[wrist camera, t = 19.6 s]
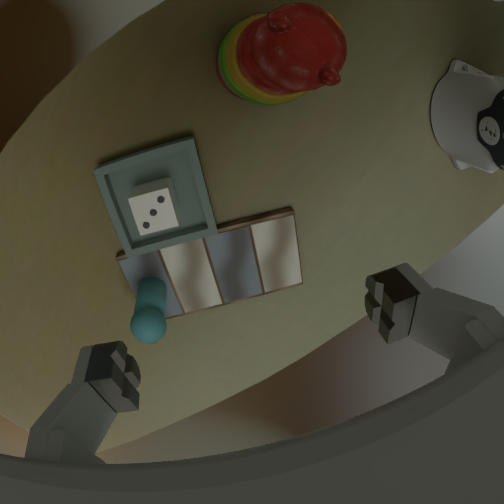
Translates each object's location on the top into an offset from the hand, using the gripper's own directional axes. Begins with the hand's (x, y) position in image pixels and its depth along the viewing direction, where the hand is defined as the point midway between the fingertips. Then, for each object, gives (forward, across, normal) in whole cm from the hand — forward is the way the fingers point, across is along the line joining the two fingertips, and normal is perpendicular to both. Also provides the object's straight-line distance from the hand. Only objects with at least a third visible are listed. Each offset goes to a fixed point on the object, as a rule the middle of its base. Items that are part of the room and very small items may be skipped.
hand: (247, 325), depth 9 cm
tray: (+29, +7, +4) cm, 30 cm away
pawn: (+28, +12, +16) cm, 34 cm away
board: (+29, +3, +16) cm, 33 cm away
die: (+28, +7, +4) cm, 29 cm away
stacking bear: (+29, -8, -9) cm, 32 cm away
